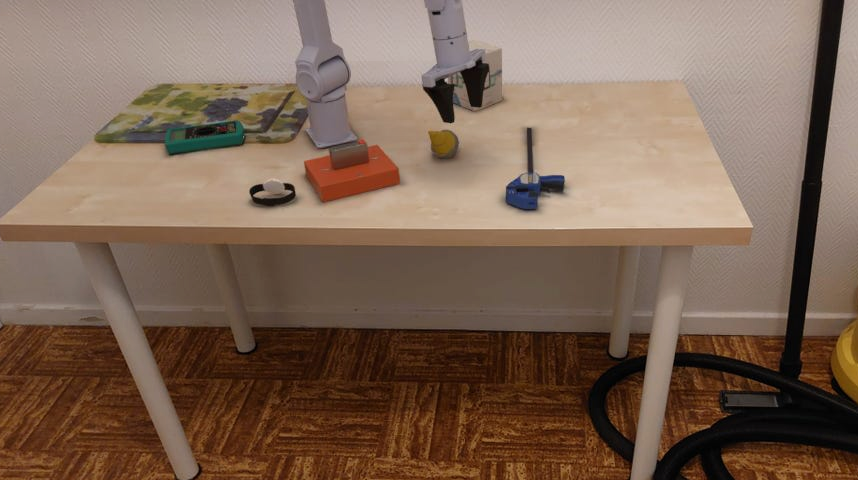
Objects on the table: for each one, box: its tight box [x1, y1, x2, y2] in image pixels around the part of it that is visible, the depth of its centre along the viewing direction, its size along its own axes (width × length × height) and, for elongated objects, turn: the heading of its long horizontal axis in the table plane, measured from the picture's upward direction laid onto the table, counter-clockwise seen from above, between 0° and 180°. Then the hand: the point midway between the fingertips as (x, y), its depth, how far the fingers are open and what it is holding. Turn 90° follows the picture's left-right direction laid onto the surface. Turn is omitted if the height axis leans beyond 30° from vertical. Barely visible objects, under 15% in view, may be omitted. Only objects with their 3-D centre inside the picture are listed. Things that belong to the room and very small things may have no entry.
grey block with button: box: [328, 139, 369, 170], centre depth 129 cm, size 6×2×4 cm, turn 115°
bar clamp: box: [505, 127, 566, 210], centre depth 134 cm, size 32×2×10 cm
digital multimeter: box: [164, 119, 246, 155], centre depth 146 cm, size 7×15×3 cm, turn 105°
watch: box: [248, 177, 297, 207], centre depth 126 cm, size 8×5×4 cm, turn 91°
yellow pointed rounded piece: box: [427, 129, 460, 160], centre depth 136 cm, size 5×5×10 cm
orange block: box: [303, 144, 401, 203], centre depth 131 cm, size 14×11×3 cm
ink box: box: [447, 39, 503, 112], centre depth 157 cm, size 8×8×12 cm
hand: (462, 114), depth 128 cm, fingers open, 7 cm apart
